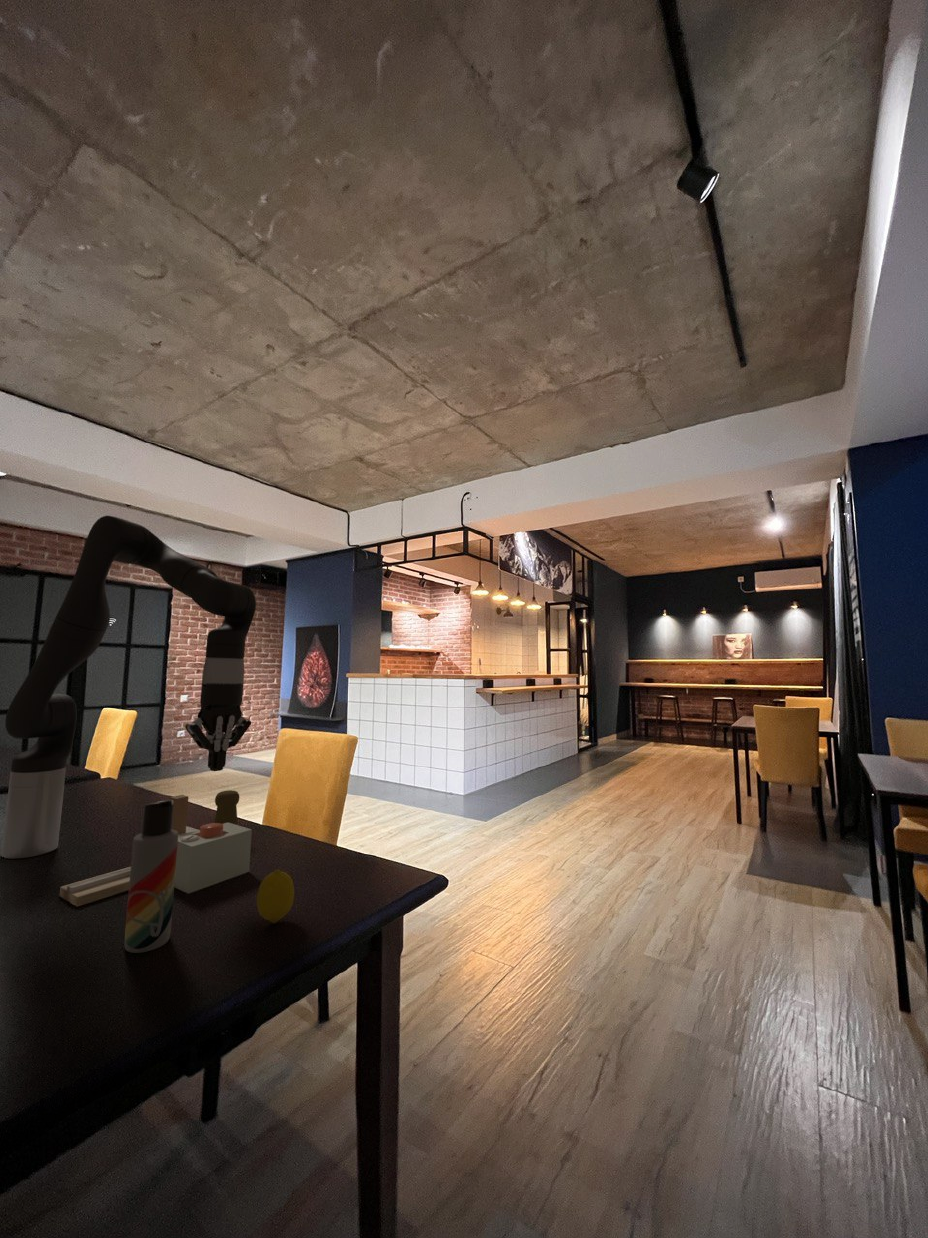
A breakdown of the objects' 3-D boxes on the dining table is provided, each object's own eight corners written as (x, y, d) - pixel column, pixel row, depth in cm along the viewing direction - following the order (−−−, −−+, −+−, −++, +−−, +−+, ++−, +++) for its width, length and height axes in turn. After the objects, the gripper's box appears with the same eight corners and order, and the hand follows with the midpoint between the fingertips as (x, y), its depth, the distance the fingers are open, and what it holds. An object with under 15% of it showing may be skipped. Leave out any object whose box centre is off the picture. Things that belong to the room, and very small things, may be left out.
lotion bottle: (135, 958, 68) (148, 807, 70) (116, 946, 71) (129, 801, 73) (178, 940, 73) (188, 799, 75) (157, 929, 76) (168, 794, 78)
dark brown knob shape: (227, 845, 112) (230, 795, 114) (203, 843, 114) (207, 793, 115) (244, 837, 118) (247, 789, 119) (221, 834, 119) (225, 787, 121)
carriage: (148, 855, 98) (153, 798, 99) (184, 845, 104) (188, 791, 105) (164, 862, 95) (169, 802, 96) (200, 851, 101) (204, 795, 102)
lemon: (300, 918, 80) (302, 866, 81) (276, 935, 75) (279, 879, 76) (271, 912, 82) (274, 861, 83) (247, 928, 77) (250, 873, 78)
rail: (59, 896, 86) (62, 868, 87) (200, 853, 107) (202, 831, 108) (76, 906, 82) (79, 878, 83) (219, 860, 103) (221, 838, 104)
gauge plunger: (193, 859, 95) (195, 827, 95) (213, 853, 98) (215, 822, 99) (205, 864, 93) (207, 830, 93) (225, 857, 96) (227, 825, 97)
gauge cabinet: (164, 882, 92) (168, 835, 93) (225, 862, 102) (228, 820, 103) (188, 893, 88) (192, 844, 89) (249, 871, 98) (251, 827, 99)
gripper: (241, 680, 107) (235, 763, 105) (179, 680, 96) (171, 773, 94) (264, 681, 103) (257, 768, 101) (201, 682, 92) (193, 778, 90)
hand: (216, 770), depth 97 cm, fingers closed
